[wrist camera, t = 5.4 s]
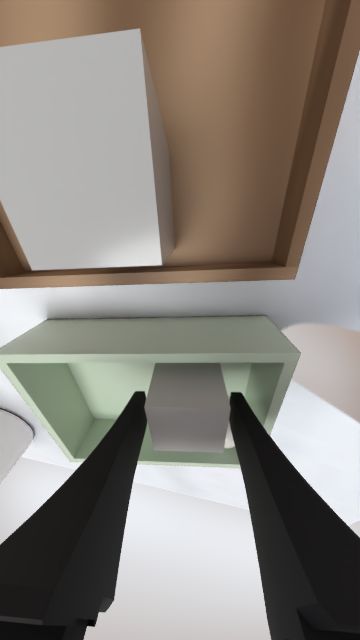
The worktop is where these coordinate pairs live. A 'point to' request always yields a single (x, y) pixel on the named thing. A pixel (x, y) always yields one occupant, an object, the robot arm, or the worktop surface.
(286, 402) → the worktop surface
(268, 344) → the green bin
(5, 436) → the pill bottle
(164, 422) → the grey rectangular block
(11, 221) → the stone
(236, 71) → the walnut tray
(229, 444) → the white ball
